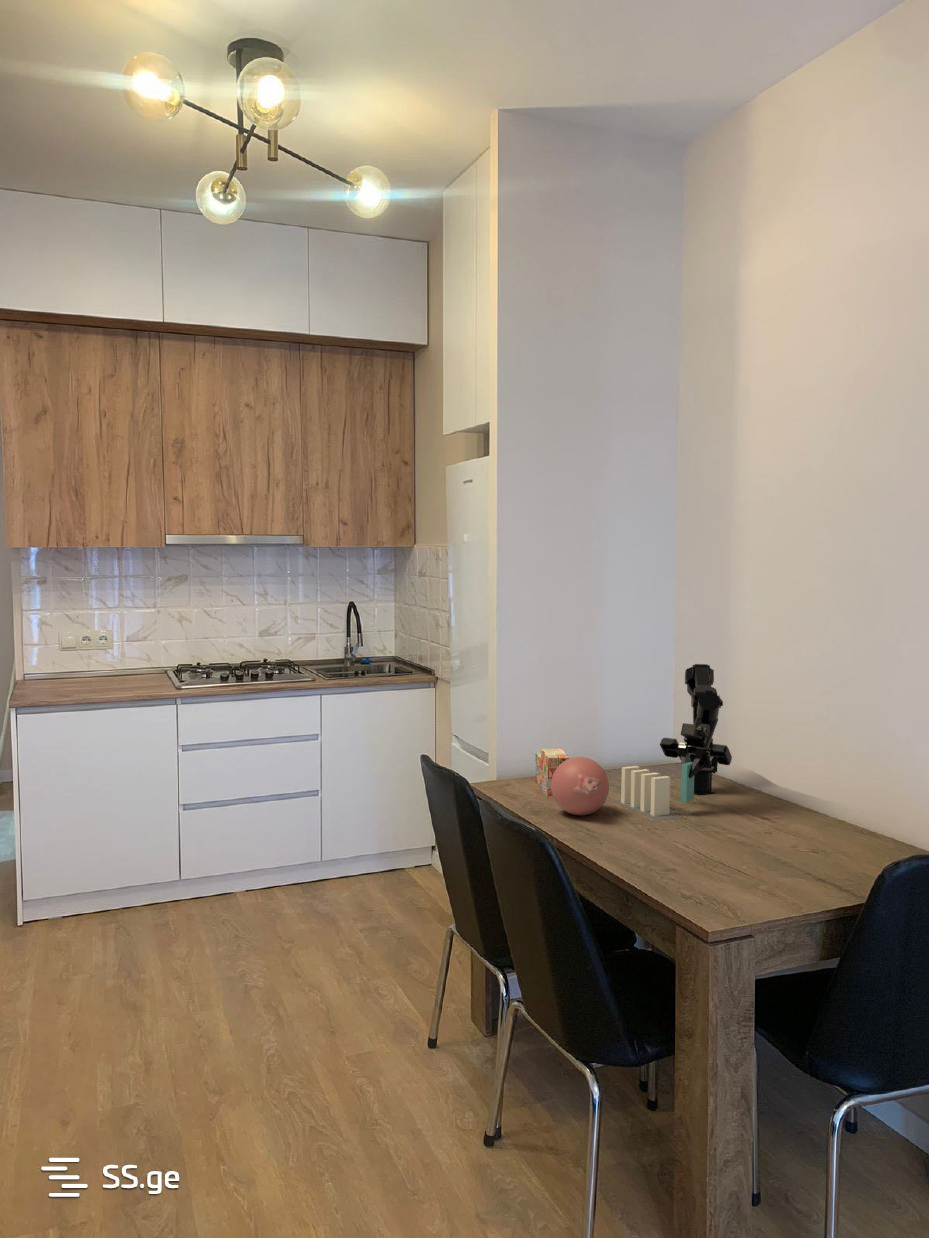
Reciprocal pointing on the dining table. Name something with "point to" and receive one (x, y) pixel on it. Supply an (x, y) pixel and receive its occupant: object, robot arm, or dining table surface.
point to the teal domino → (686, 783)
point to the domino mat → (660, 817)
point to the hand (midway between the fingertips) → (686, 776)
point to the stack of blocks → (548, 767)
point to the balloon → (580, 786)
